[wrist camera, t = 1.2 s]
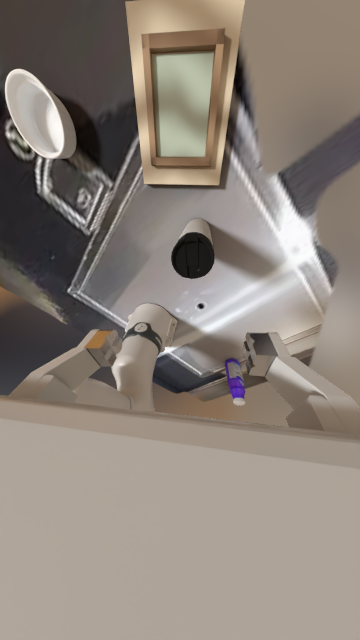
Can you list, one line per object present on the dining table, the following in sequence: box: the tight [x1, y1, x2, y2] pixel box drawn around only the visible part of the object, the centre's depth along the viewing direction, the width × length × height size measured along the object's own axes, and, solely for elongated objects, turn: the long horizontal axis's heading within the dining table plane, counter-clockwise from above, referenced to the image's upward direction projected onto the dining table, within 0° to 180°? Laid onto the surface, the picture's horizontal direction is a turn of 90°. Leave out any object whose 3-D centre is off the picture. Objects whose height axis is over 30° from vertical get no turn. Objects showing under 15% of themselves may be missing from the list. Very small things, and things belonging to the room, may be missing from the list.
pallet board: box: [125, 0, 245, 186], centre depth 24 cm, size 17×15×2 cm
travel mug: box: [171, 218, 214, 279], centre depth 28 cm, size 6×7×20 cm
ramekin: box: [5, 69, 76, 159], centre depth 26 cm, size 9×9×4 cm
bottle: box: [225, 359, 245, 405], centre depth 60 cm, size 7×6×17 cm
